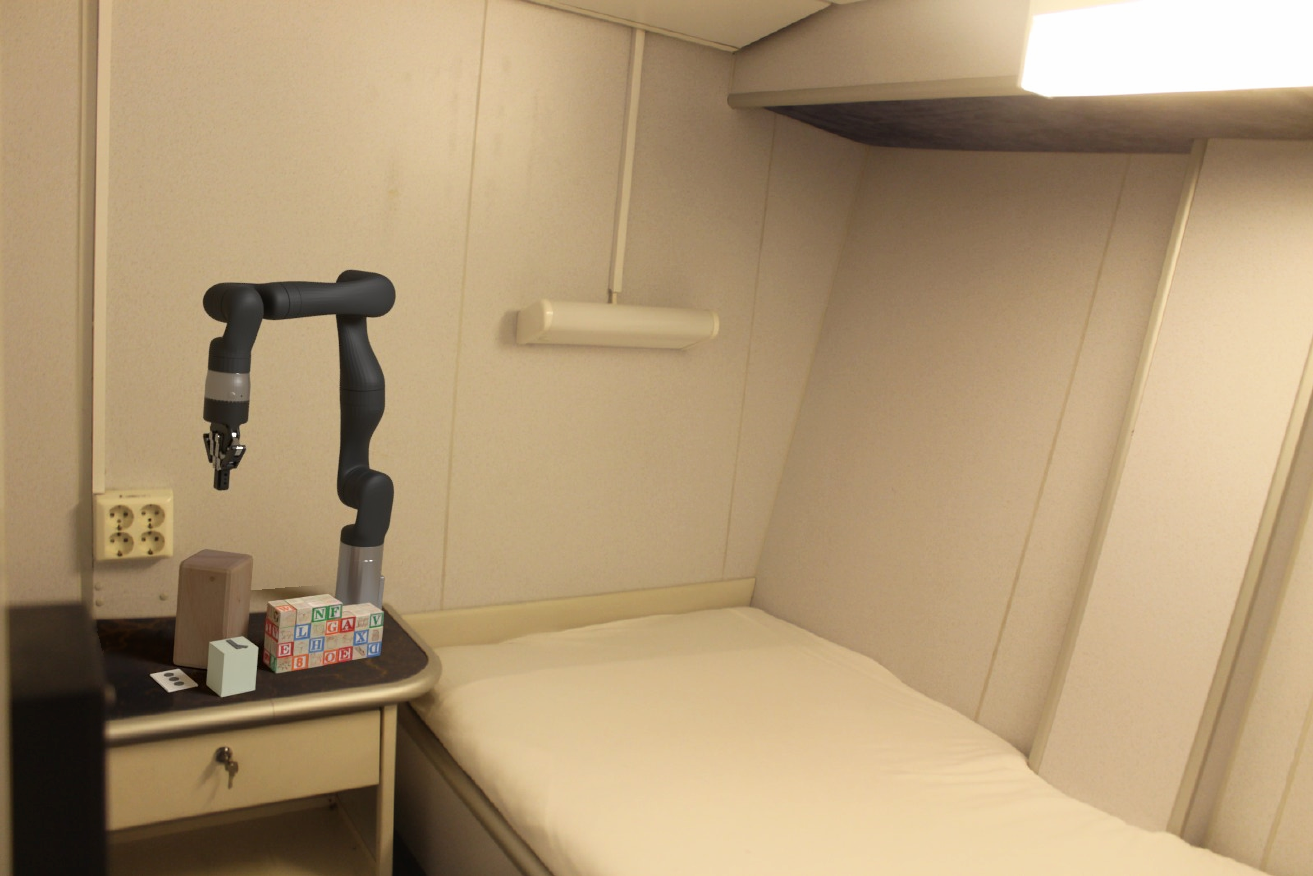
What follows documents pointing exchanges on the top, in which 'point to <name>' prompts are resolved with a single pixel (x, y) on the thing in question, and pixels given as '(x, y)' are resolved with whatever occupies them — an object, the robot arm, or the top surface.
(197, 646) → the wooden block
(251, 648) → the digit block
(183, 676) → the count card
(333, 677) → the top surface
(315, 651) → the stack of blocks
